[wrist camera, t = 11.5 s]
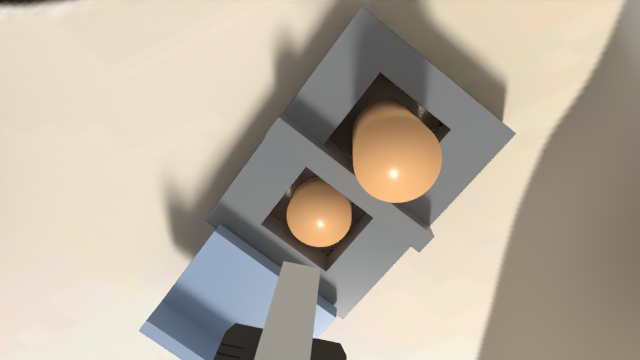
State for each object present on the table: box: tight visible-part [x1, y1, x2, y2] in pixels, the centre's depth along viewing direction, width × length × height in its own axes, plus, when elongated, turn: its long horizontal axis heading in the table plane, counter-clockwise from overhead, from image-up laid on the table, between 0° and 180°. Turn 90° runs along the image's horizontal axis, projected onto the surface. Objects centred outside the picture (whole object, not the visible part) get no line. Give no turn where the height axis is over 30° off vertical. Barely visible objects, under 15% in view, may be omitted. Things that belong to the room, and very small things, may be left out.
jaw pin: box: [352, 101, 442, 203], centre depth 25 cm, size 4×4×8 cm
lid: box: [139, 224, 337, 360], centre depth 28 cm, size 10×8×4 cm
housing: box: [205, 6, 516, 319], centre depth 27 cm, size 12×17×4 cm
